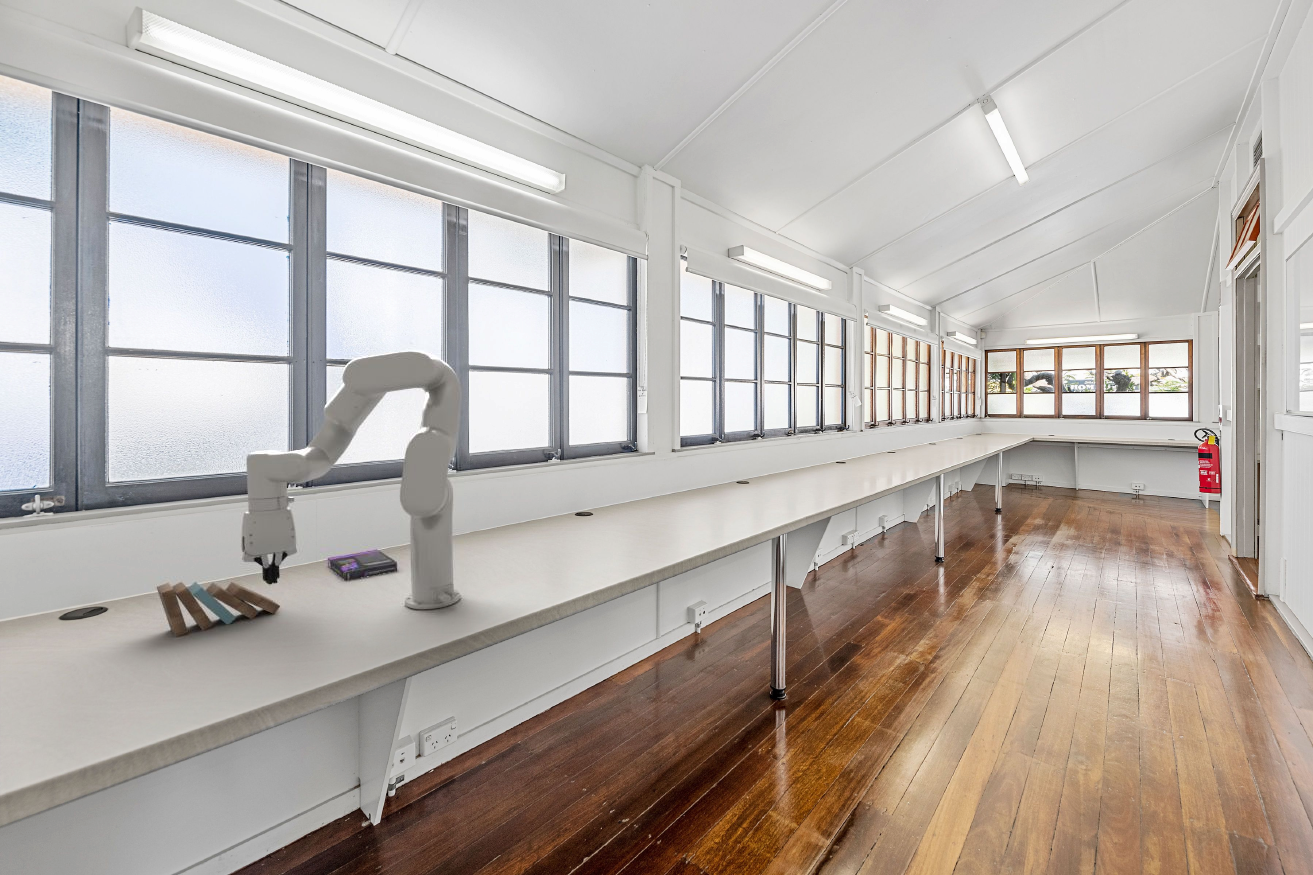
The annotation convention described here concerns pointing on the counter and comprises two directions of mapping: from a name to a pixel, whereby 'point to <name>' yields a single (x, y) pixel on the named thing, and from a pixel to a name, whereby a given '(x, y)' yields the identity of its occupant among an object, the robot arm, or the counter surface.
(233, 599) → the domino
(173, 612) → the domino
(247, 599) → the domino
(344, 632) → the counter surface
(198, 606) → the domino
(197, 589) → the domino
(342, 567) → the box
